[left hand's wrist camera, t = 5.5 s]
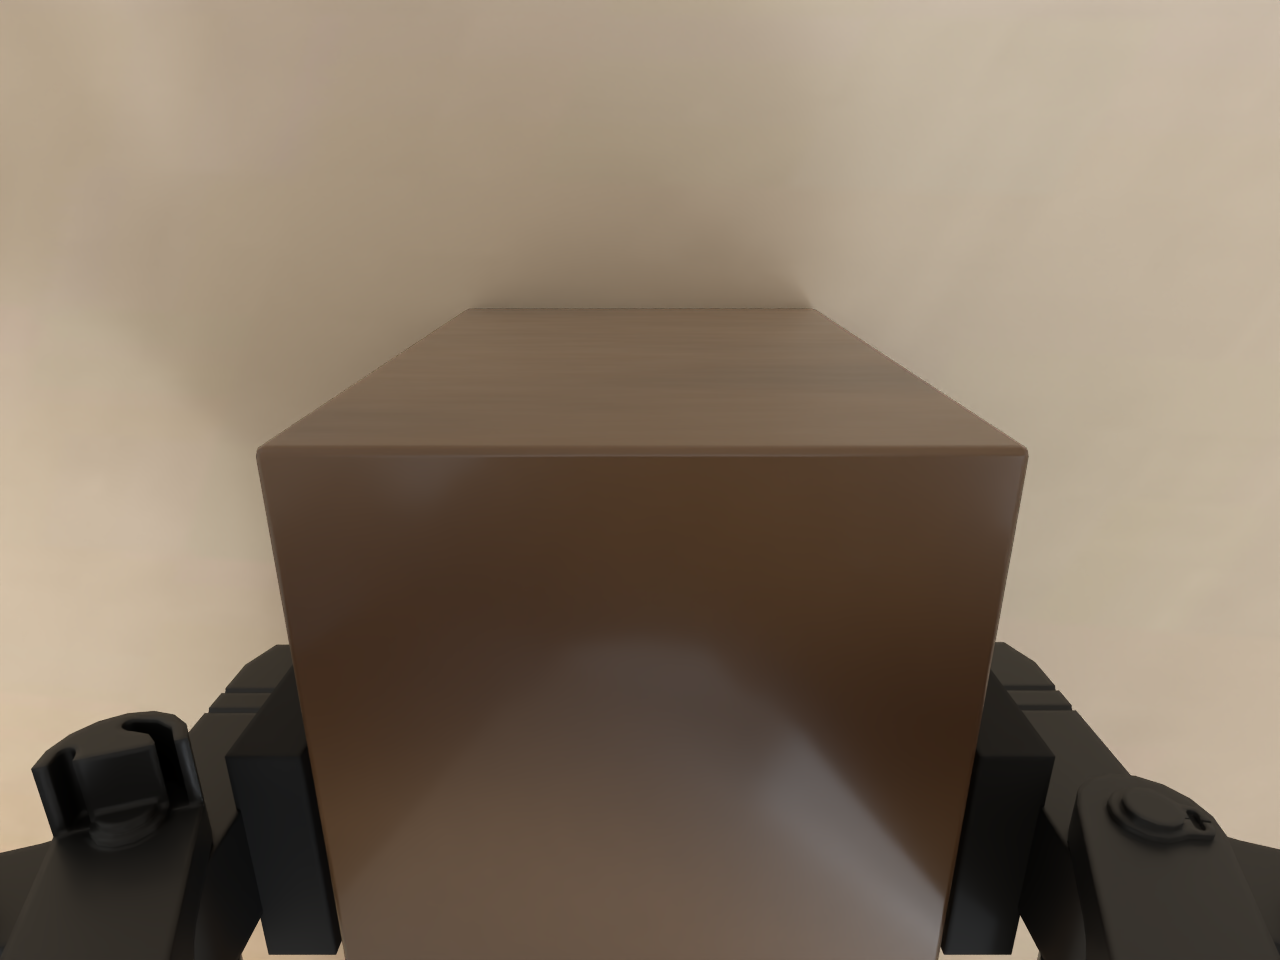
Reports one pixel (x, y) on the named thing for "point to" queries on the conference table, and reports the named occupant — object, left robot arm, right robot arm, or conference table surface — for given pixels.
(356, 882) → the post
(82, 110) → the conference table surface
